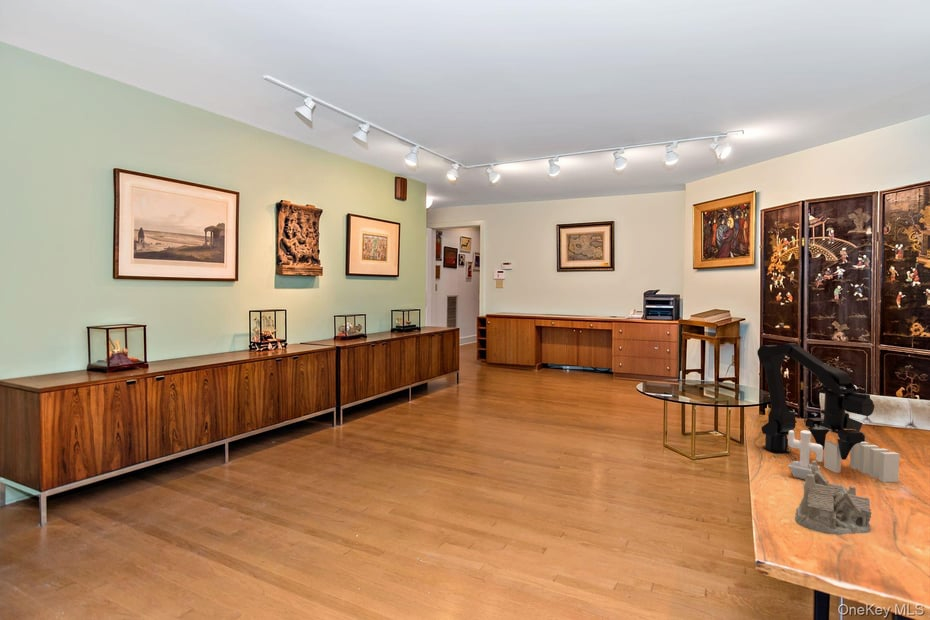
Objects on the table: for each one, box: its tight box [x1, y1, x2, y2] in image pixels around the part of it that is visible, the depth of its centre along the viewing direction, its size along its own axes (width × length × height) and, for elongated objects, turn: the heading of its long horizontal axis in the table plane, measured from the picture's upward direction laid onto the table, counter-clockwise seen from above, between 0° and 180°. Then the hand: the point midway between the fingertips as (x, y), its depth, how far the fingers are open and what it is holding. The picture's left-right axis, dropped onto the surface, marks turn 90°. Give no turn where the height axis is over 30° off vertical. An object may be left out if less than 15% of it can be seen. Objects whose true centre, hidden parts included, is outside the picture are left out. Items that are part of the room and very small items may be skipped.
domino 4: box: [868, 448, 890, 479], centre depth 162 cm, size 5×2×9 cm, turn 94°
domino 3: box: [858, 444, 880, 474], centre depth 166 cm, size 5×2×9 cm, turn 94°
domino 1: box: [823, 440, 842, 474], centre depth 168 cm, size 5×2×9 cm, turn 4°
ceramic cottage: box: [794, 460, 872, 535], centre depth 129 cm, size 16×16×15 cm
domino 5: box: [878, 451, 901, 483], centre depth 158 cm, size 5×2×9 cm, turn 94°
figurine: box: [787, 429, 824, 481], centre depth 161 cm, size 7×9×15 cm
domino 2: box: [849, 441, 870, 470], centre depth 169 cm, size 5×2×9 cm, turn 94°
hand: (832, 454), depth 168 cm, fingers open, 9 cm apart
